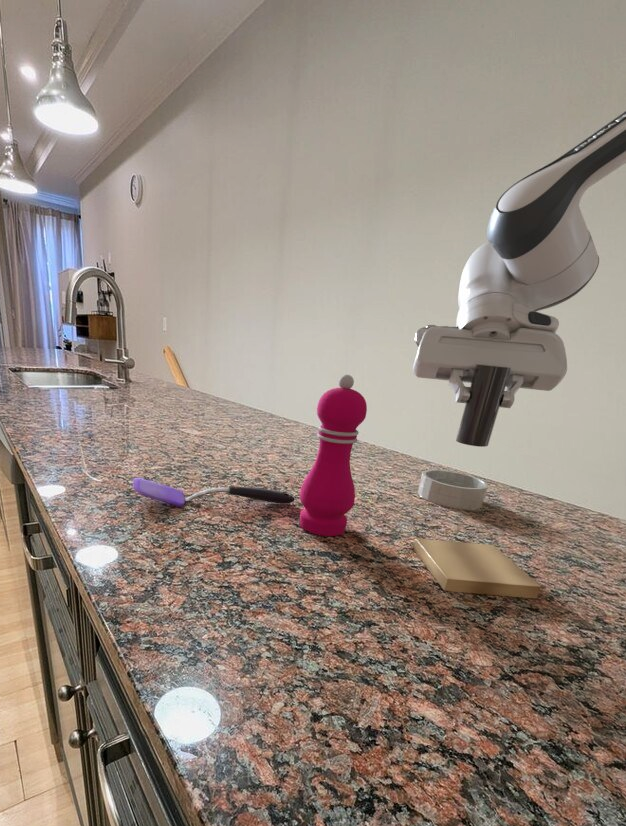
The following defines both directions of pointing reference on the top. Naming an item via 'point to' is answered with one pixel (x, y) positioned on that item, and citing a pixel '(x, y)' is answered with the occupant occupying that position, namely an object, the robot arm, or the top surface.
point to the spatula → (179, 499)
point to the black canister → (482, 404)
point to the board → (474, 569)
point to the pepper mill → (333, 461)
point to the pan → (452, 489)
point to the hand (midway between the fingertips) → (484, 402)
